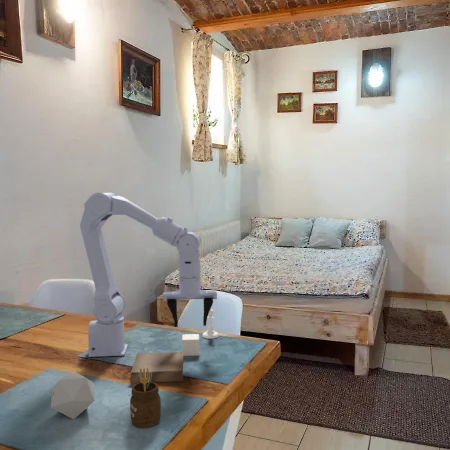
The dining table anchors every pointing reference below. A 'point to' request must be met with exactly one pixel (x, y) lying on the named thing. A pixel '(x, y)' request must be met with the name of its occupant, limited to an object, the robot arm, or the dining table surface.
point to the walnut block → (159, 367)
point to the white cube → (190, 344)
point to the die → (72, 394)
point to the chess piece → (210, 328)
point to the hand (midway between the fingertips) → (190, 325)
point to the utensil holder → (145, 402)
